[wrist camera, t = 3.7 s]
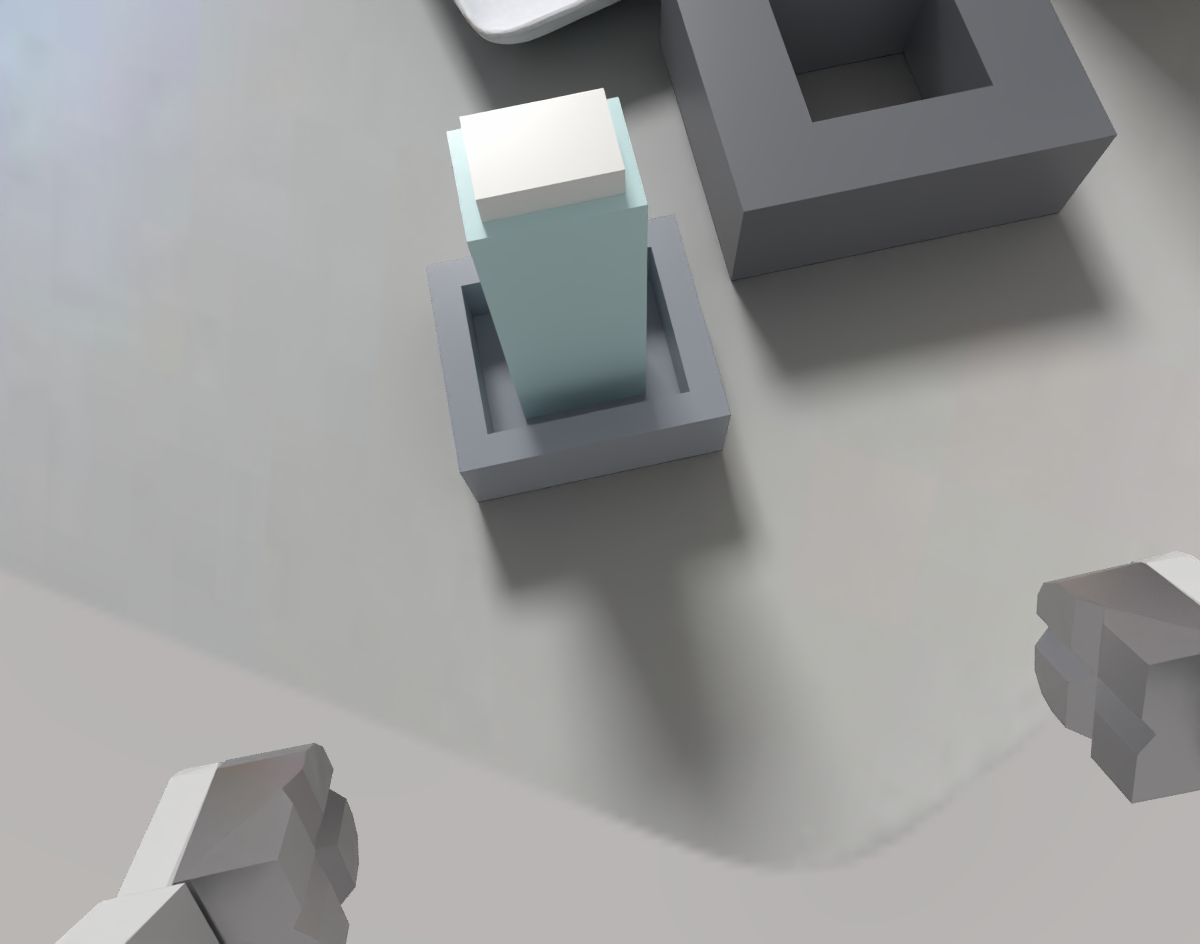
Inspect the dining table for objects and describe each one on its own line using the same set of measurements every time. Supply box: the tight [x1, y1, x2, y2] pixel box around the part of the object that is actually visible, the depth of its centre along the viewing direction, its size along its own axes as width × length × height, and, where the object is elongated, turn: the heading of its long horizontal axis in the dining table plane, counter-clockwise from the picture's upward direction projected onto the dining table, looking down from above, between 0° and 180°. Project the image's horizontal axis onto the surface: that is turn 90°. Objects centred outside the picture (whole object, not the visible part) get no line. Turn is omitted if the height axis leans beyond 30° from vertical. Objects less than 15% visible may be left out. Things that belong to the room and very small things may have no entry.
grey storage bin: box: [426, 215, 731, 502], centre depth 28 cm, size 8×7×3 cm
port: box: [660, 0, 1117, 281], centre depth 30 cm, size 12×11×5 cm
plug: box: [447, 88, 648, 419], centre depth 24 cm, size 4×3×11 cm
